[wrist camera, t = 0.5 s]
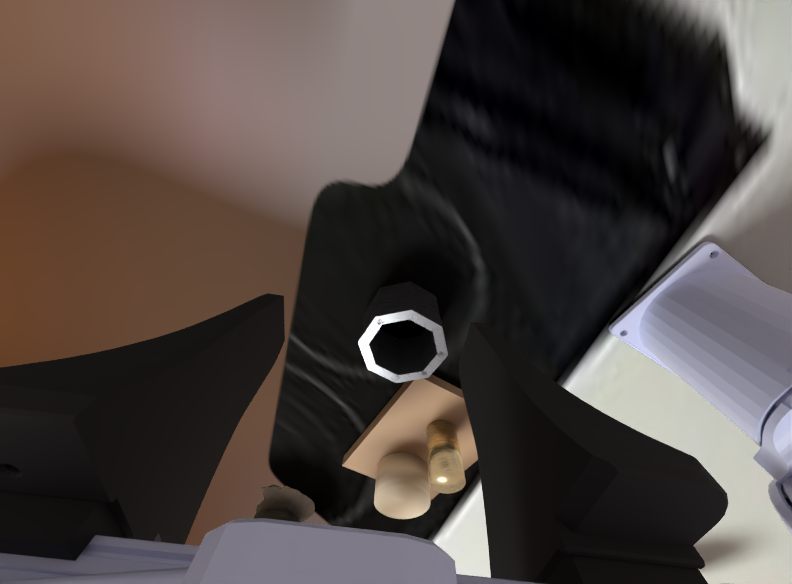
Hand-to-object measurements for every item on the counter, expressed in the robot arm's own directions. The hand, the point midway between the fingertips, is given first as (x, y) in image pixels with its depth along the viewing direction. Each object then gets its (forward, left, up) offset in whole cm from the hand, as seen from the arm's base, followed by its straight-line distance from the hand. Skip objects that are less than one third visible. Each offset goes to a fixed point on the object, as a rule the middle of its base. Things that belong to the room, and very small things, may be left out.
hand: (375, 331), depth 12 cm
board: (-12, +14, -10) cm, 21 cm away
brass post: (-12, +11, -9) cm, 19 cm away
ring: (-3, +4, -10) cm, 11 cm away
